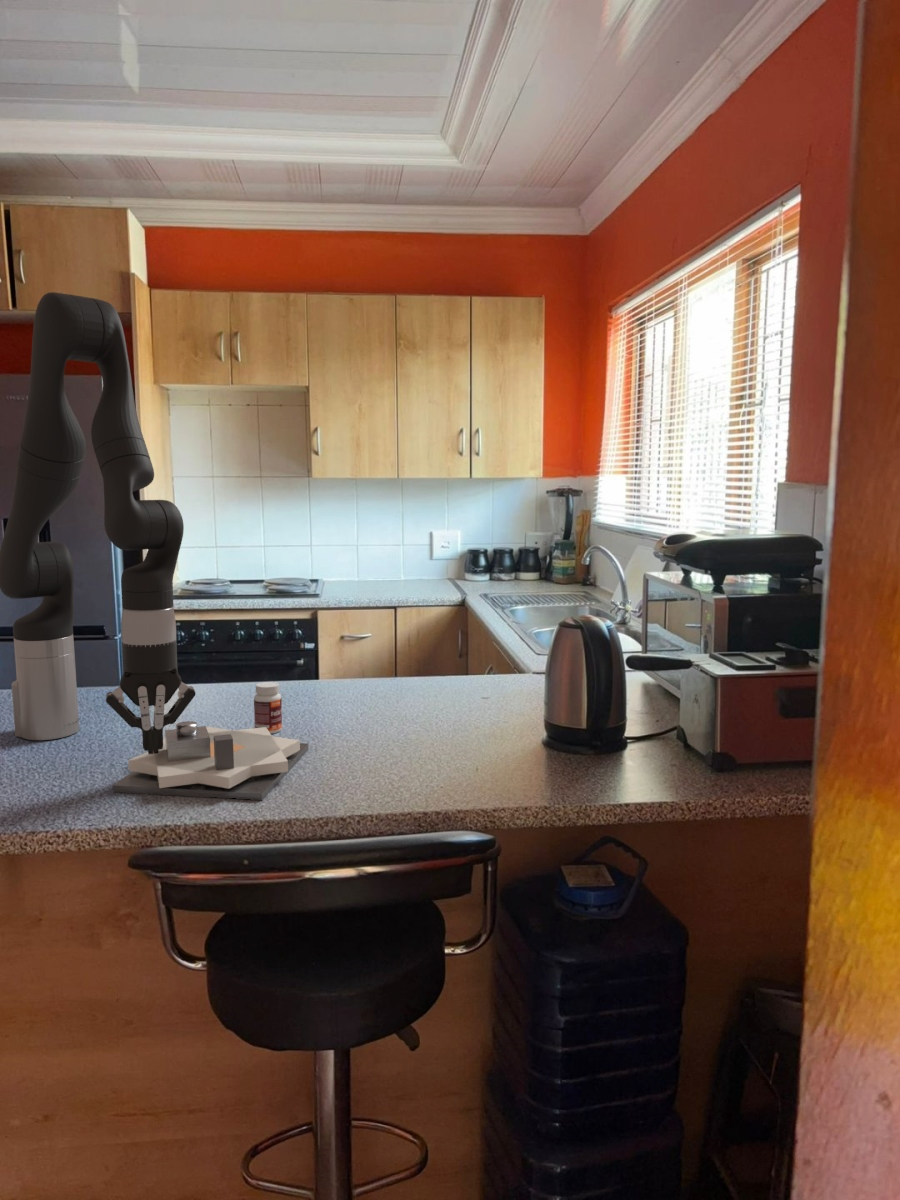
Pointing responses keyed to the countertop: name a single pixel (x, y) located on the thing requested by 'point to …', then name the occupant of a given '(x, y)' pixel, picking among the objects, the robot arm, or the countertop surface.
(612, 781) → the countertop surface
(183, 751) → the cover
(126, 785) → the base
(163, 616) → the robot arm
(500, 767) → the countertop surface
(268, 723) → the pill bottle
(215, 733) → the turntable
